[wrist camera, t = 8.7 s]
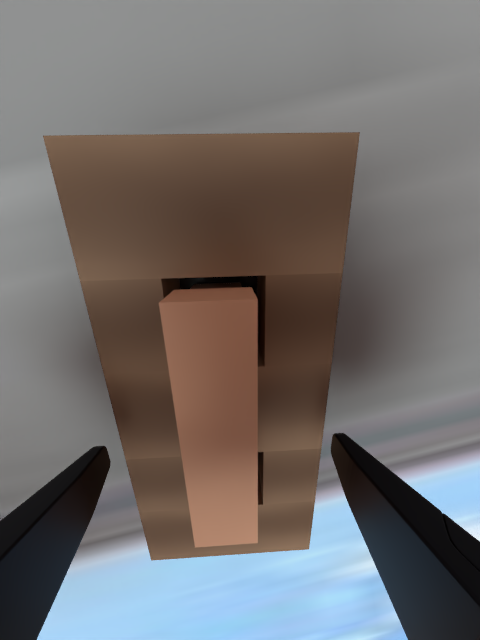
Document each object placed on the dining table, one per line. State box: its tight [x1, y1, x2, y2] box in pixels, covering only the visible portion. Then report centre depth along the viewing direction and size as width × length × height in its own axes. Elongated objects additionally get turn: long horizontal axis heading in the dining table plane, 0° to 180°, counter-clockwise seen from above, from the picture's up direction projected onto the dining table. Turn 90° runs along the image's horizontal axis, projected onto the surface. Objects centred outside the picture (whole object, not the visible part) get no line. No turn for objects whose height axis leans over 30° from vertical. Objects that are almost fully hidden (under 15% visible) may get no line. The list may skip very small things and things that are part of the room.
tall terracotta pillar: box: [159, 282, 258, 548], centre depth 11 cm, size 12×3×5 cm, turn 1°
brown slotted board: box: [43, 132, 360, 560], centre depth 12 cm, size 22×10×3 cm, turn 1°
